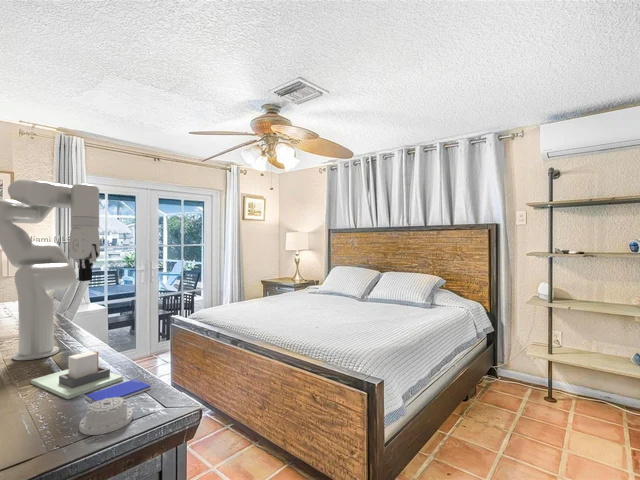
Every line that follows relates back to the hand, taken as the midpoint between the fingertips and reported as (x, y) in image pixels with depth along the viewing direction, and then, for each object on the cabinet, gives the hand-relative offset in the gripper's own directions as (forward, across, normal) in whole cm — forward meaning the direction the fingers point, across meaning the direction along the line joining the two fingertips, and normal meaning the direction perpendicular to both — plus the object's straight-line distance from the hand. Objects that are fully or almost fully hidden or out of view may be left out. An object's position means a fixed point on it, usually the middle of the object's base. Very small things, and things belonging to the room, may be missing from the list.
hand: (85, 280), depth 111 cm
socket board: (+27, +12, -8) cm, 31 cm away
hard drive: (+28, +30, -7) cm, 41 cm away
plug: (+26, +15, -8) cm, 31 cm away
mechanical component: (+28, +42, -16) cm, 53 cm away
